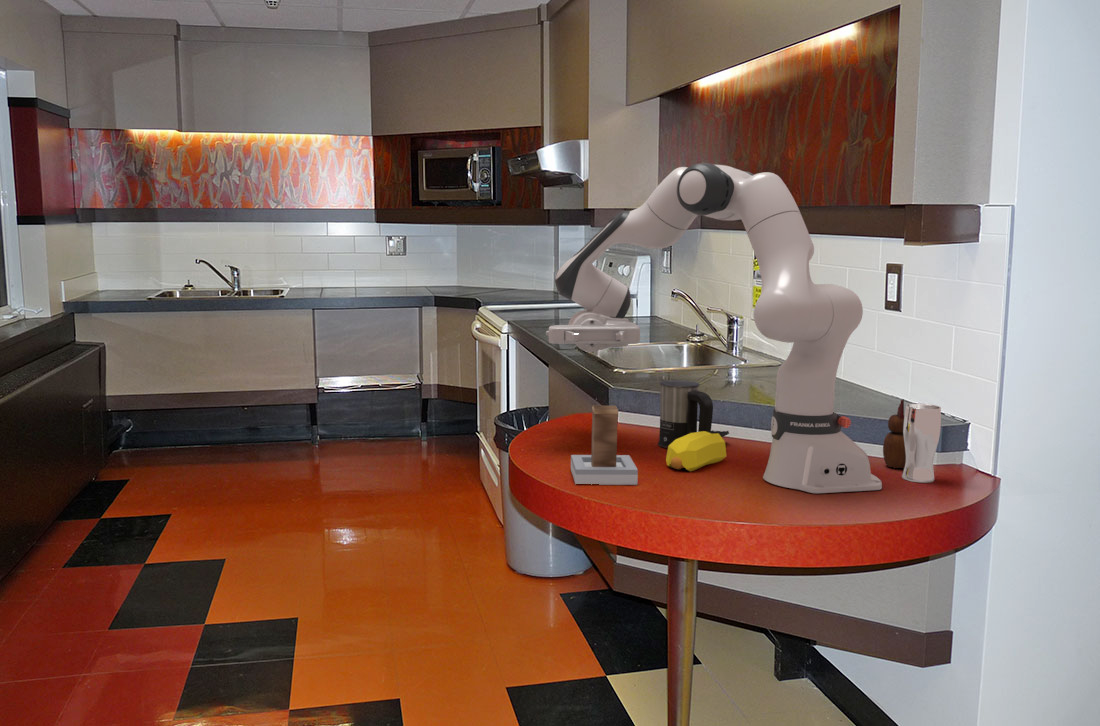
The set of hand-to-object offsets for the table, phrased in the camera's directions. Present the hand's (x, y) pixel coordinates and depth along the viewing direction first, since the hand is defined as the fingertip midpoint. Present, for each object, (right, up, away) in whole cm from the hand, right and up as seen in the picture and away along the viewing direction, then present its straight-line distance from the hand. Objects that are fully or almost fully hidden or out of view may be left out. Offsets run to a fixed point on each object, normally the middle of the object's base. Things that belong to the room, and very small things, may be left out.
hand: (597, 337), depth 196 cm
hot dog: (+21, -27, -1) cm, 34 cm away
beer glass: (+64, -29, -10) cm, 71 cm away
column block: (+1, -26, -13) cm, 29 cm away
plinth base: (0, -28, -13) cm, 31 cm away
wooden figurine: (+64, -28, 0) cm, 70 cm away
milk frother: (+23, -25, +18) cm, 38 cm away
